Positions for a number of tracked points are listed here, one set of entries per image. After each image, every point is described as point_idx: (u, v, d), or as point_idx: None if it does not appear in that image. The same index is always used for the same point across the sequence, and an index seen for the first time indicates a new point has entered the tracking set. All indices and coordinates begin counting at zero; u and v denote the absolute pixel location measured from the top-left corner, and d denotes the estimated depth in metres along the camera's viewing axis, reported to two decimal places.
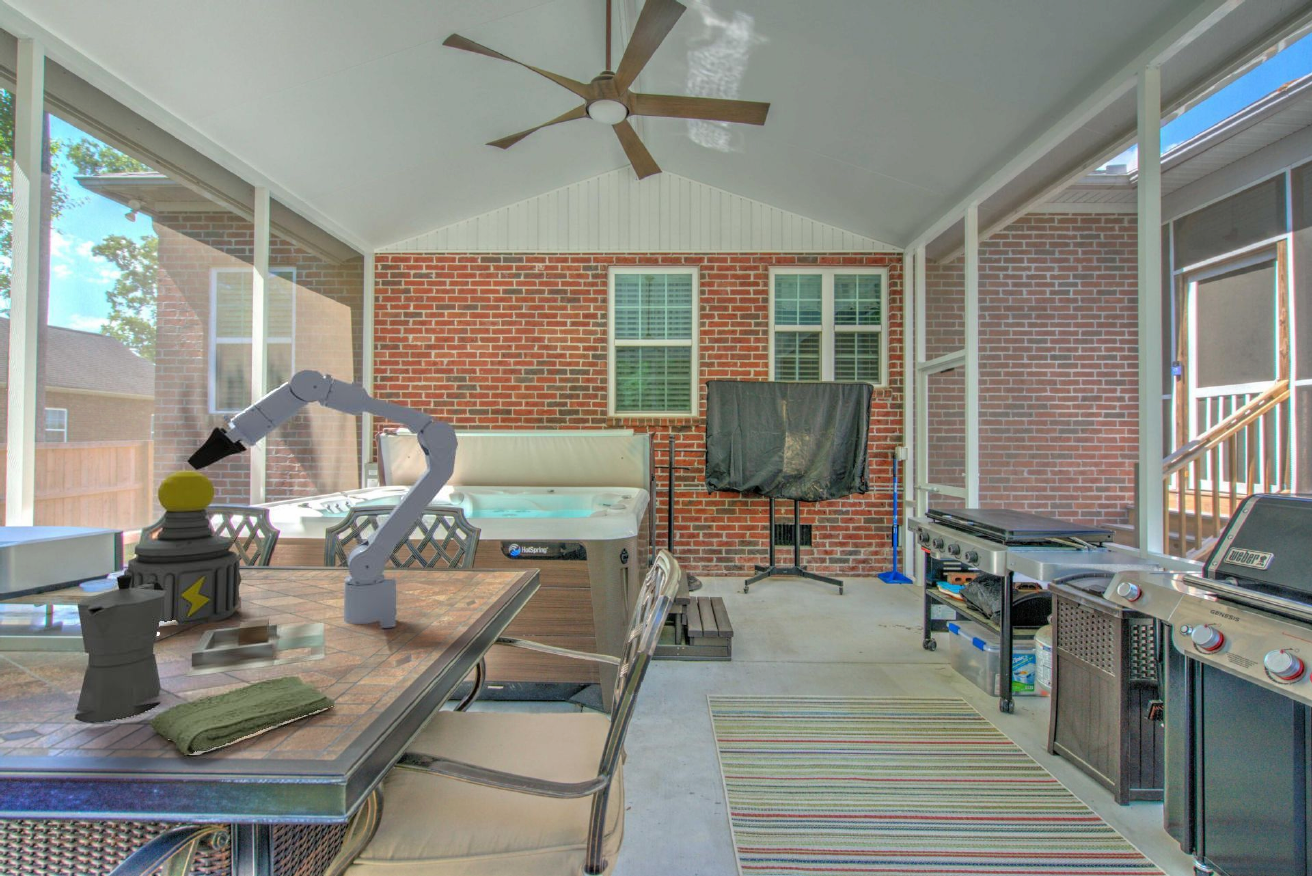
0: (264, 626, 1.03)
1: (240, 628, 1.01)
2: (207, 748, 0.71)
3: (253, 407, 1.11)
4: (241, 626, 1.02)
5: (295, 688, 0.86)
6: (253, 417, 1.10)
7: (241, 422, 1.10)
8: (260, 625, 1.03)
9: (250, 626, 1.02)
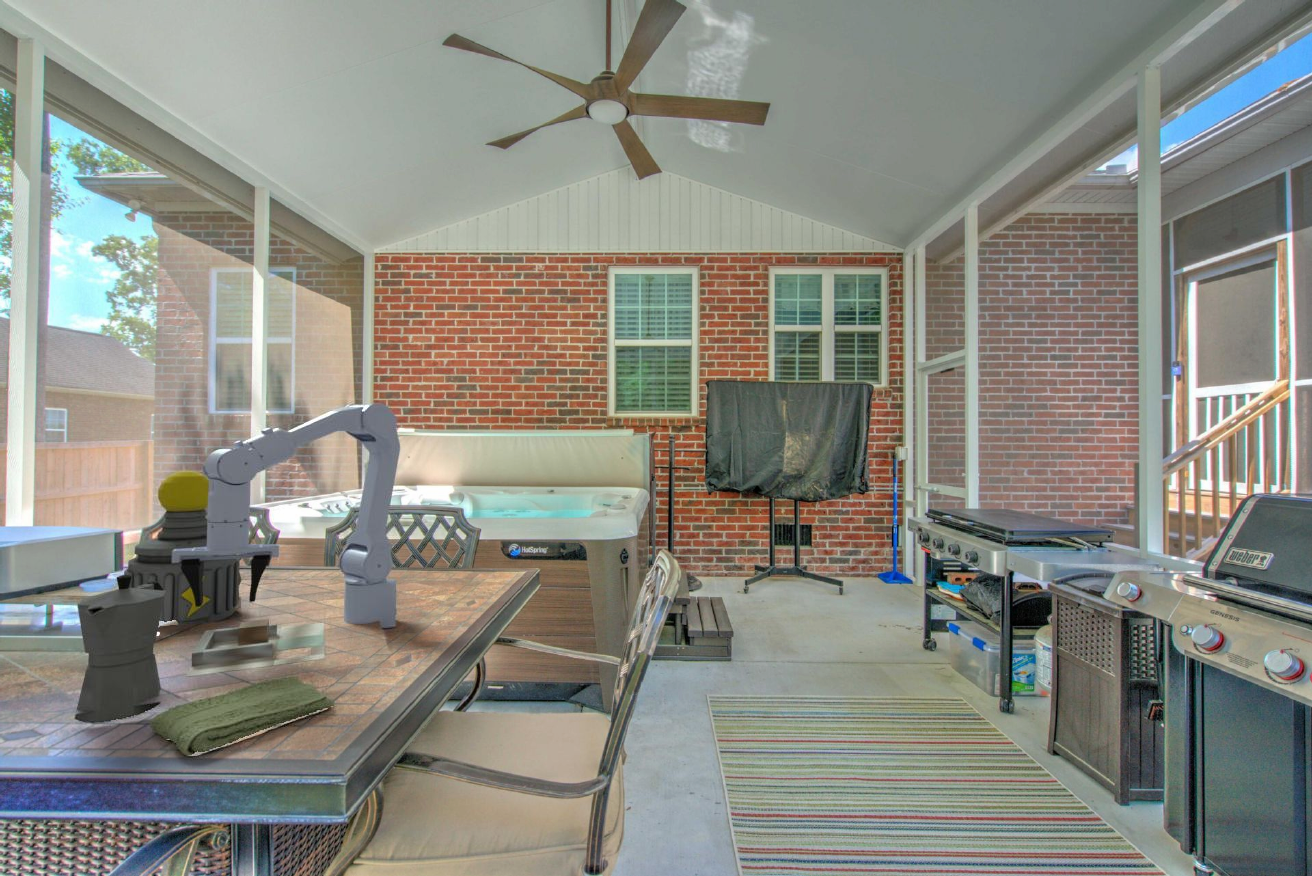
0: (264, 626, 1.03)
1: (240, 628, 1.01)
2: (208, 748, 0.71)
3: (239, 523, 1.01)
4: (241, 626, 1.02)
5: (294, 688, 0.86)
6: (247, 529, 1.02)
7: (245, 541, 1.02)
8: (260, 625, 1.03)
9: (250, 626, 1.02)
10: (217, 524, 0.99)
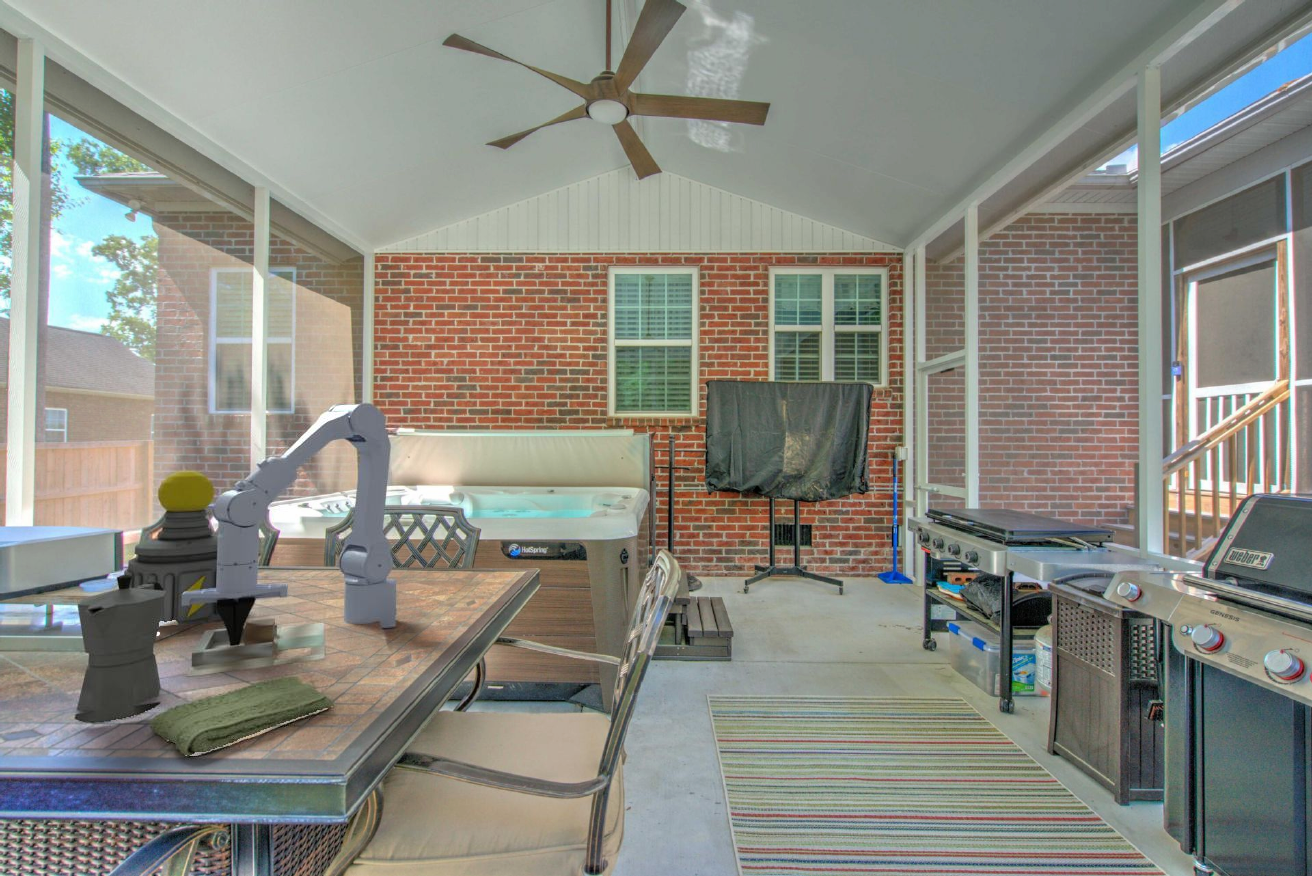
0: (270, 625, 1.03)
1: (246, 627, 1.01)
2: (208, 749, 0.71)
3: (248, 565, 1.01)
4: (247, 625, 1.02)
5: (294, 688, 0.86)
6: (256, 570, 1.03)
7: (254, 582, 1.03)
8: (266, 624, 1.03)
9: (256, 625, 1.02)
10: (226, 567, 1.00)
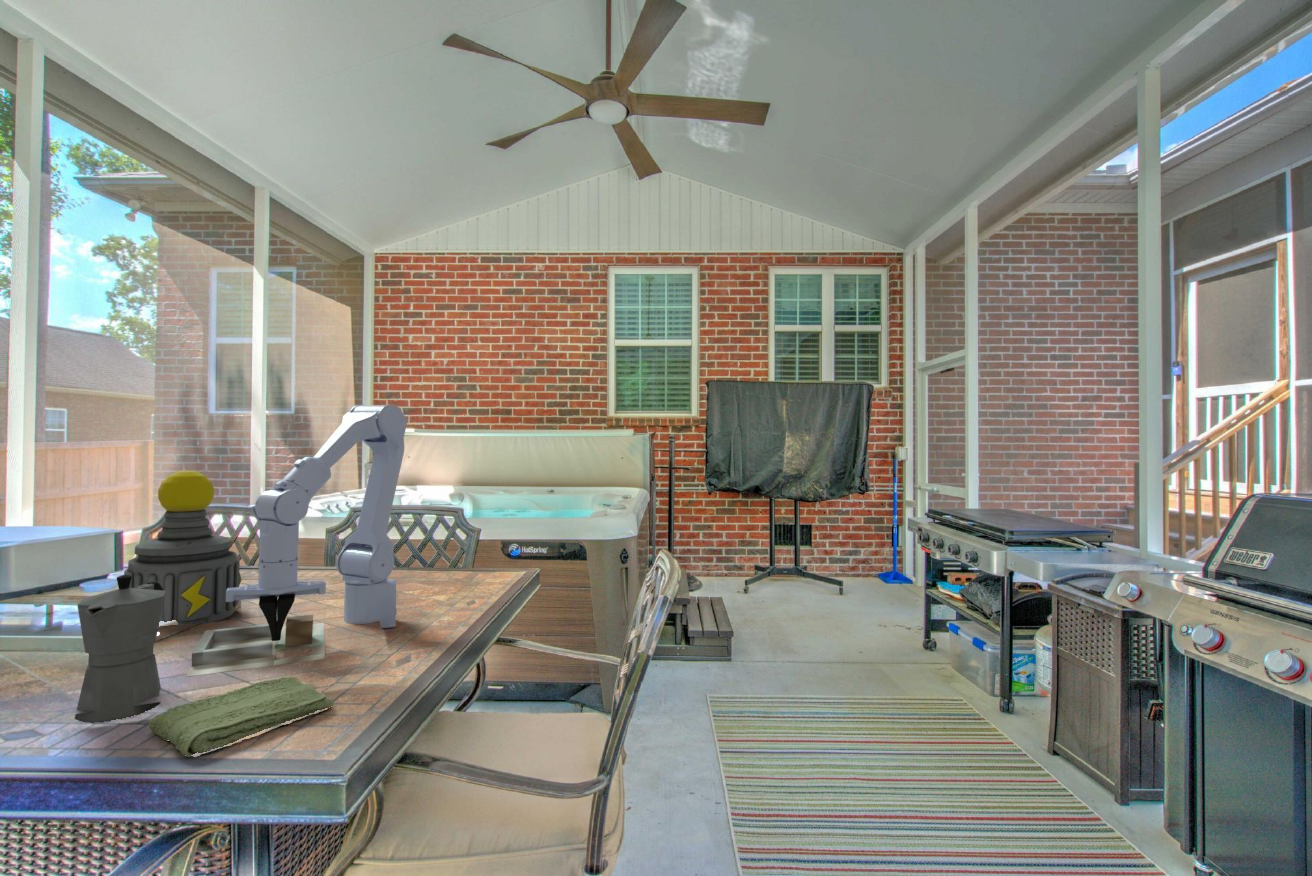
0: (310, 621, 1.06)
1: (287, 623, 1.04)
2: (208, 749, 0.71)
3: (289, 563, 1.04)
4: (288, 621, 1.05)
5: (294, 689, 0.85)
6: (296, 567, 1.06)
7: (295, 579, 1.05)
8: (306, 620, 1.06)
9: (296, 621, 1.05)
10: (269, 564, 1.02)
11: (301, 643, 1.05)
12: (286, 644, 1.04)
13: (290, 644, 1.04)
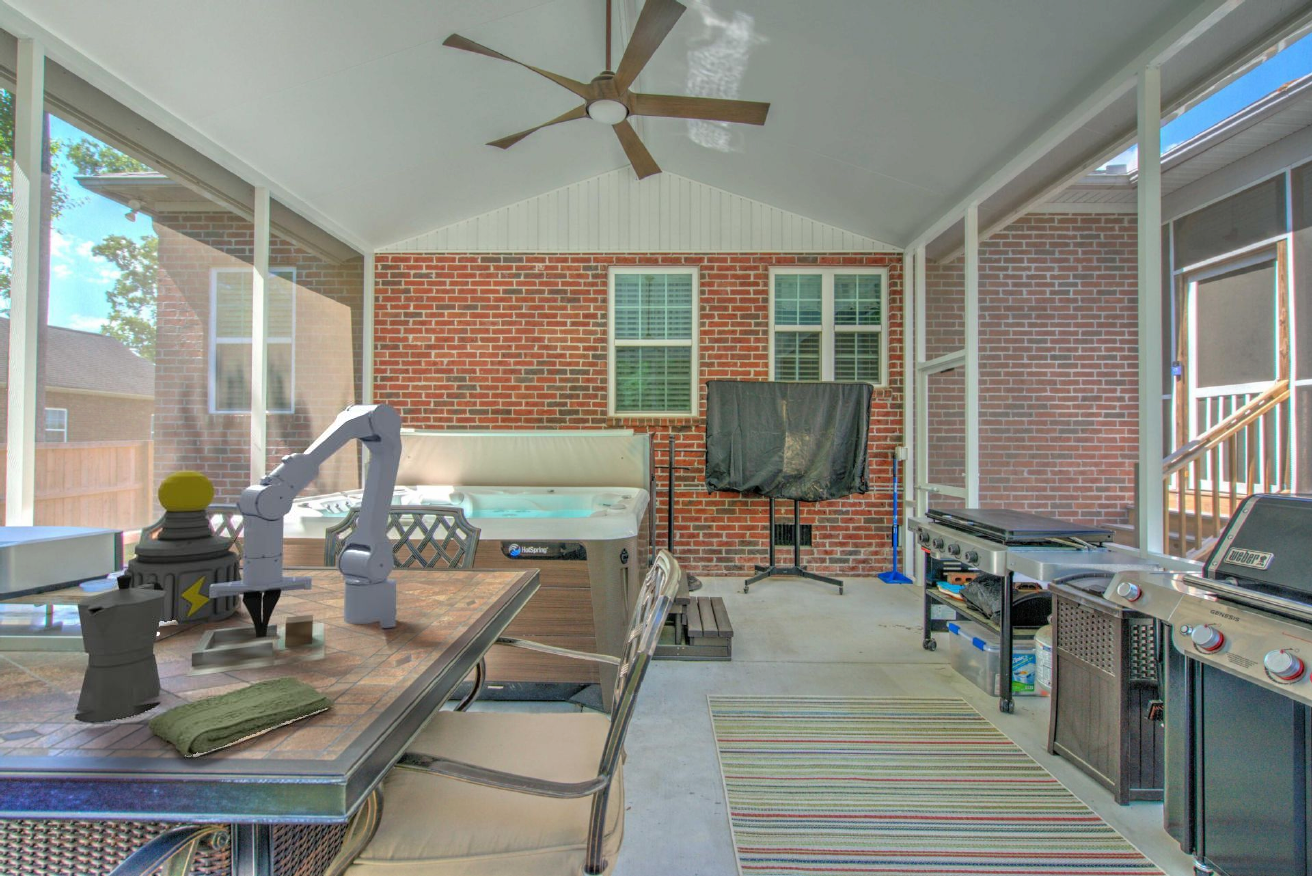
0: (309, 621, 1.06)
1: (287, 623, 1.04)
2: (208, 749, 0.71)
3: (274, 558, 1.03)
4: (287, 621, 1.05)
5: (293, 689, 0.85)
6: (281, 563, 1.05)
7: (280, 575, 1.04)
8: (306, 620, 1.06)
9: (296, 621, 1.05)
10: (253, 559, 1.01)
11: (301, 643, 1.05)
12: (286, 644, 1.04)
13: (290, 644, 1.04)
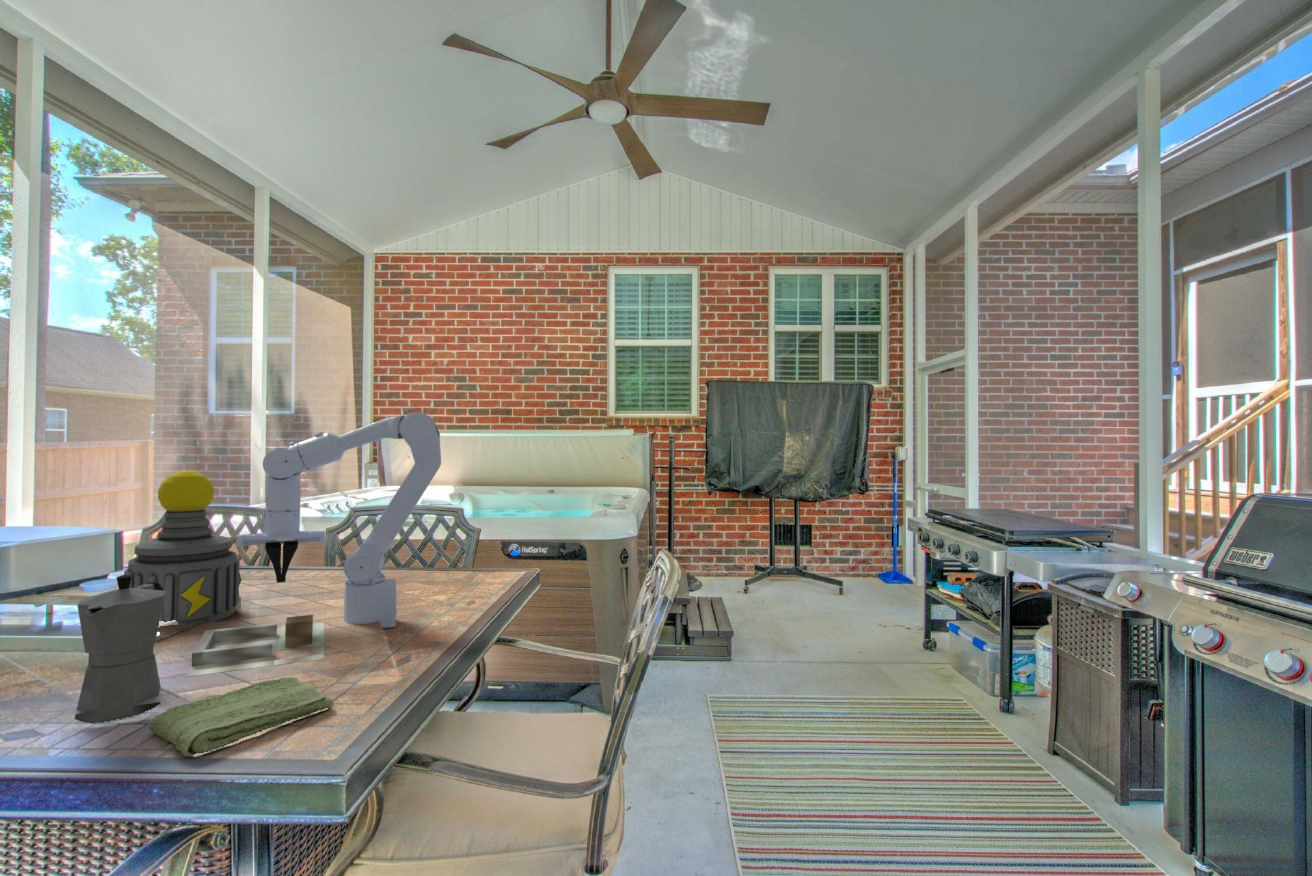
0: (309, 621, 1.06)
1: (287, 623, 1.04)
2: (208, 749, 0.71)
3: (293, 513, 1.17)
4: (287, 621, 1.05)
5: (293, 689, 0.85)
6: (299, 517, 1.18)
7: (298, 528, 1.18)
8: (306, 620, 1.06)
9: (296, 621, 1.05)
10: (275, 513, 1.15)
11: (301, 643, 1.05)
12: (286, 644, 1.04)
13: (290, 644, 1.04)
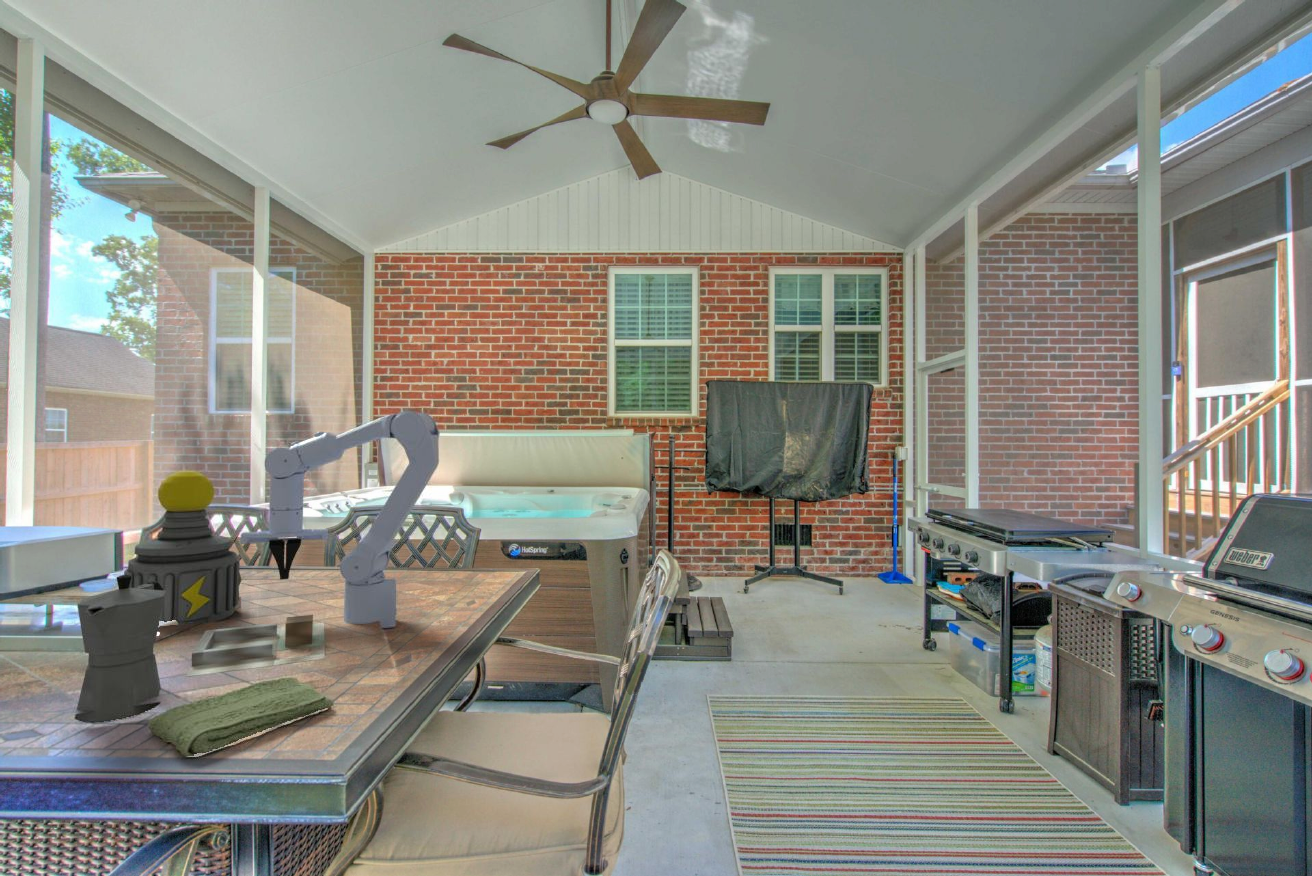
0: (309, 621, 1.06)
1: (287, 623, 1.04)
2: (208, 749, 0.71)
3: (296, 511, 1.19)
4: (287, 621, 1.05)
5: (293, 689, 0.85)
6: (302, 516, 1.21)
7: (300, 526, 1.20)
8: (306, 620, 1.06)
9: (296, 621, 1.05)
10: (278, 511, 1.18)
11: (301, 643, 1.05)
12: (286, 644, 1.04)
13: (290, 644, 1.04)
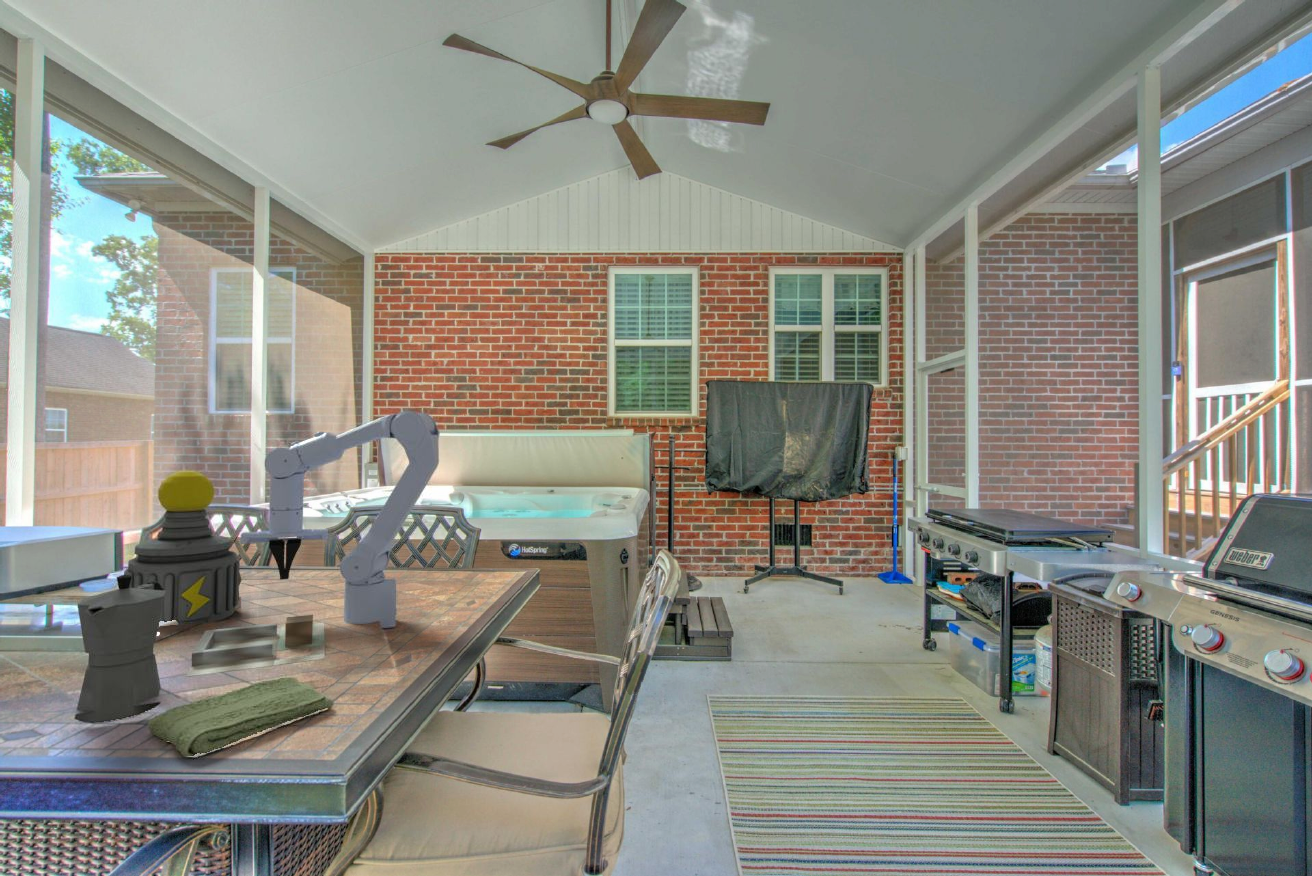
0: (309, 621, 1.06)
1: (287, 623, 1.04)
2: (208, 750, 0.71)
3: (296, 511, 1.19)
4: (287, 621, 1.05)
5: (293, 689, 0.85)
6: (302, 516, 1.21)
7: (300, 526, 1.20)
8: (306, 620, 1.06)
9: (296, 621, 1.05)
10: (278, 511, 1.18)
11: (301, 643, 1.05)
12: (286, 644, 1.04)
13: (290, 644, 1.04)
